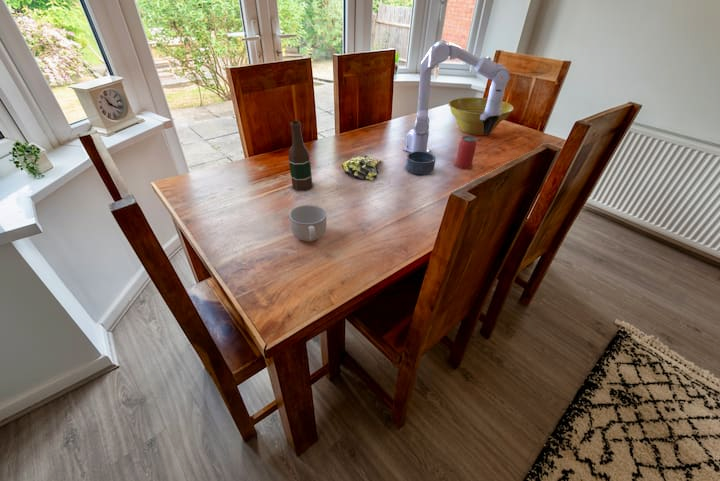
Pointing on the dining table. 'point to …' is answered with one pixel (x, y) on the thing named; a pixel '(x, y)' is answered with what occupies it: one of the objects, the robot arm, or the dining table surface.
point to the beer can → (466, 152)
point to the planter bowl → (475, 114)
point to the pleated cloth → (362, 167)
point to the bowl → (420, 162)
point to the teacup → (308, 222)
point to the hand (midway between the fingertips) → (486, 133)
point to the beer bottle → (299, 160)
